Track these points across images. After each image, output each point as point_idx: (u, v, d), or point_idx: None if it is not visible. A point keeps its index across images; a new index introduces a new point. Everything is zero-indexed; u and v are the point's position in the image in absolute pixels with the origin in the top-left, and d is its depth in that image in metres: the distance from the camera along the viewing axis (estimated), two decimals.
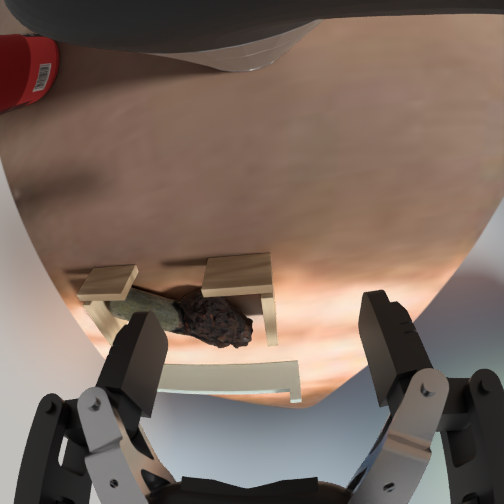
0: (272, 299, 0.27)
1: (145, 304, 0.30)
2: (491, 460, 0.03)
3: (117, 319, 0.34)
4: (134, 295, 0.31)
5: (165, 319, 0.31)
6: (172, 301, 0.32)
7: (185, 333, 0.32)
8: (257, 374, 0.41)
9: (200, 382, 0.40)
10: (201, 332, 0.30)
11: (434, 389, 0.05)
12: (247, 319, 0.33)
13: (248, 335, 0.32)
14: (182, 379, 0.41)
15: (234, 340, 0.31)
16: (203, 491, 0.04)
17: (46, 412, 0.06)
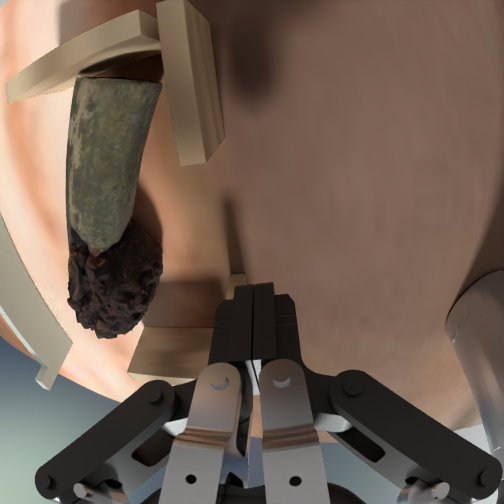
0: None
1: (126, 173, 0.12)
2: (406, 451, 0.04)
3: (70, 80, 0.10)
4: (142, 138, 0.12)
5: (101, 222, 0.13)
6: (132, 212, 0.15)
7: (72, 245, 0.14)
8: (35, 317, 0.21)
9: None
10: (102, 300, 0.14)
11: (283, 380, 0.07)
12: None
13: None
14: None
15: (99, 332, 0.16)
16: None
17: (148, 401, 0.06)
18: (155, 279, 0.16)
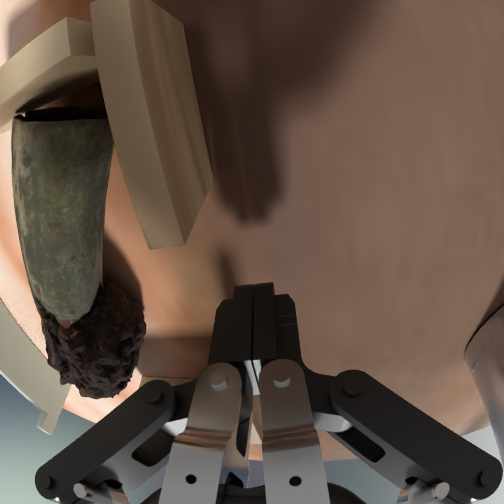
0: None
1: (84, 239, 0.09)
2: (406, 451, 0.04)
3: None
4: (98, 192, 0.09)
5: (65, 295, 0.10)
6: (102, 274, 0.12)
7: (41, 311, 0.11)
8: (28, 364, 0.18)
9: None
10: (81, 372, 0.11)
11: (283, 380, 0.07)
12: None
13: None
14: None
15: None
16: None
17: (148, 401, 0.06)
18: (137, 345, 0.13)
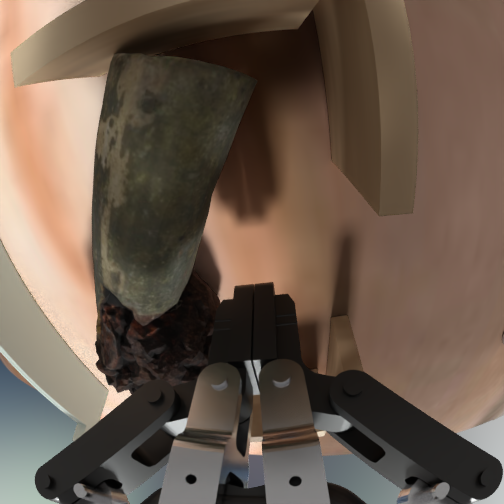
0: None
1: (199, 215, 0.09)
2: (406, 451, 0.04)
3: None
4: (223, 162, 0.08)
5: (156, 285, 0.09)
6: None
7: (103, 306, 0.10)
8: (64, 371, 0.17)
9: None
10: (155, 376, 0.11)
11: (283, 380, 0.07)
12: None
13: None
14: None
15: None
16: None
17: (148, 401, 0.06)
18: None
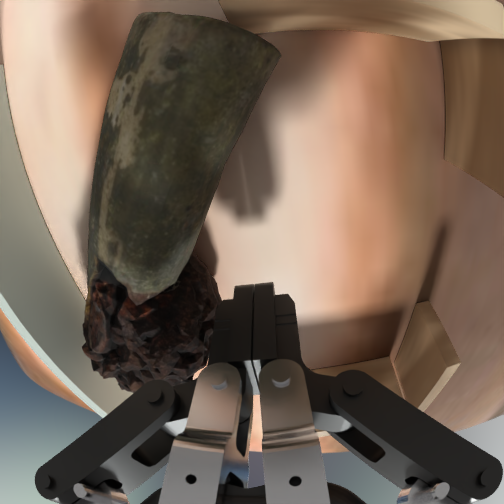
0: None
1: (209, 186, 0.08)
2: (406, 451, 0.04)
3: (305, 18, 0.06)
4: (239, 133, 0.08)
5: (156, 259, 0.09)
6: None
7: (95, 282, 0.10)
8: (115, 379, 0.17)
9: (33, 298, 0.11)
10: (145, 362, 0.10)
11: (283, 380, 0.07)
12: None
13: None
14: (9, 242, 0.09)
15: (128, 389, 0.12)
16: None
17: (148, 401, 0.06)
18: None
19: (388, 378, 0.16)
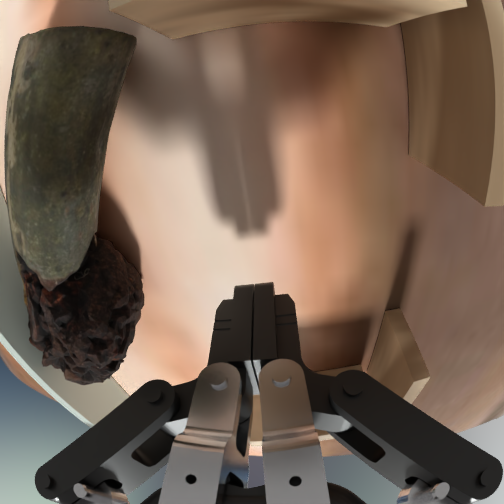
0: None
1: (79, 171, 0.07)
2: (406, 451, 0.04)
3: (230, 12, 0.06)
4: (103, 117, 0.07)
5: (50, 245, 0.08)
6: (96, 227, 0.10)
7: (23, 273, 0.09)
8: None
9: (3, 298, 0.10)
10: (65, 347, 0.09)
11: (283, 380, 0.07)
12: None
13: None
14: None
15: None
16: None
17: (148, 401, 0.06)
18: (133, 317, 0.11)
19: None
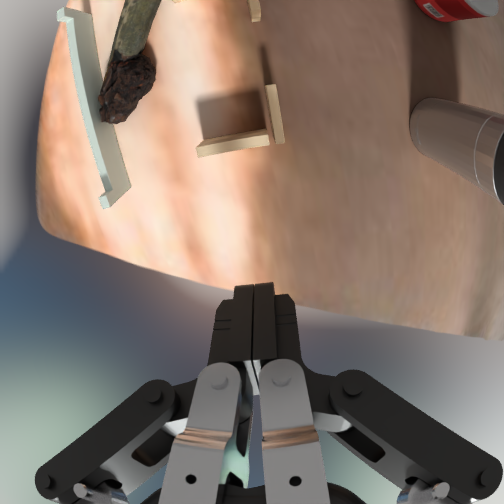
0: (267, 144, 0.29)
1: (145, 25, 0.22)
2: (406, 451, 0.04)
3: None
4: (153, 14, 0.22)
5: (131, 43, 0.22)
6: (143, 48, 0.25)
7: (111, 62, 0.24)
8: (111, 148, 0.31)
9: (91, 87, 0.25)
10: (122, 77, 0.24)
11: (283, 380, 0.07)
12: (127, 116, 0.29)
13: (115, 120, 0.28)
14: (88, 66, 0.24)
15: (113, 108, 0.26)
16: None
17: (148, 401, 0.06)
18: (151, 75, 0.26)
19: (261, 131, 0.31)
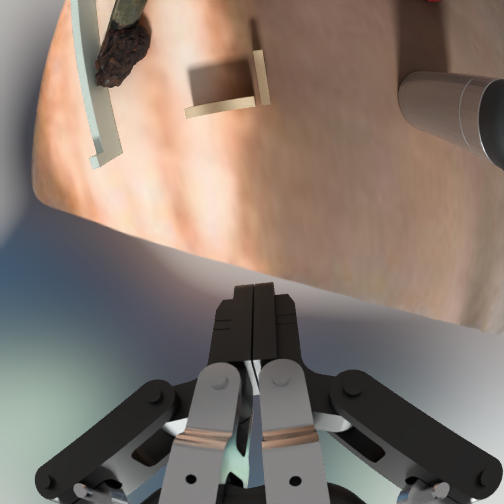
0: (253, 105, 0.28)
1: None
2: (406, 451, 0.04)
3: None
4: None
5: (127, 14, 0.21)
6: (139, 19, 0.23)
7: (108, 32, 0.23)
8: (105, 114, 0.30)
9: (89, 57, 0.24)
10: (118, 43, 0.23)
11: (283, 380, 0.07)
12: (121, 81, 0.28)
13: (110, 83, 0.27)
14: (89, 38, 0.23)
15: (108, 72, 0.25)
16: None
17: (148, 401, 0.06)
18: (145, 42, 0.25)
19: (249, 96, 0.30)
